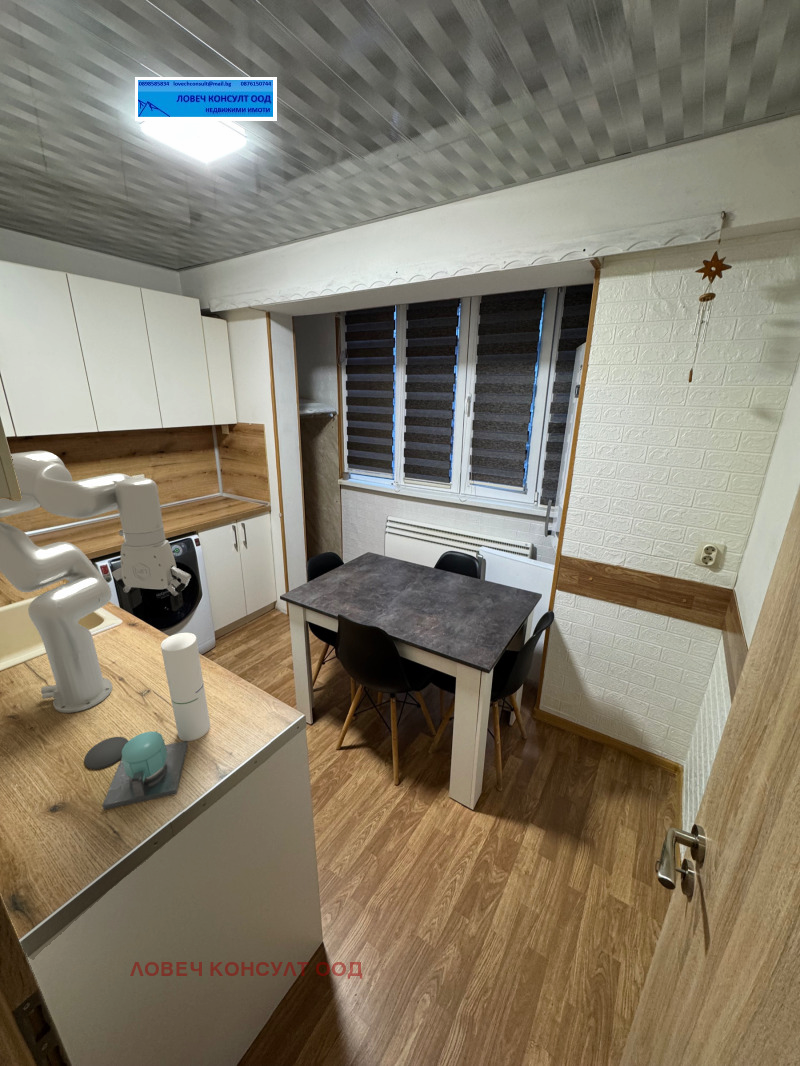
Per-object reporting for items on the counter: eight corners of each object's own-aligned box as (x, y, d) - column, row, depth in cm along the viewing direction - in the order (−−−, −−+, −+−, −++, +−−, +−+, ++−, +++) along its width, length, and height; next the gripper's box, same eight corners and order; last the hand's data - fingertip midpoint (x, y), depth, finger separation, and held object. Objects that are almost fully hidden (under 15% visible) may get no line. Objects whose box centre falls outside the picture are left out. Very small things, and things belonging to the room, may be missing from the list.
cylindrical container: (216, 722, 104) (203, 636, 96) (194, 744, 97) (178, 653, 89) (193, 715, 106) (179, 630, 98) (171, 736, 100) (152, 646, 91)
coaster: (78, 773, 90) (77, 771, 89) (93, 742, 97) (93, 740, 97) (122, 764, 92) (122, 762, 92) (134, 735, 100) (133, 733, 99)
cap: (160, 779, 85) (156, 760, 84) (119, 787, 83) (114, 768, 82) (171, 742, 94) (167, 724, 92) (134, 749, 92) (129, 731, 90)
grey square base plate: (176, 794, 86) (170, 768, 83) (103, 809, 82) (95, 783, 80) (188, 744, 97) (183, 720, 95) (124, 756, 94) (118, 732, 92)
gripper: (92, 540, 86) (108, 612, 92) (174, 544, 85) (185, 617, 91) (118, 528, 93) (131, 596, 99) (193, 532, 92) (202, 601, 98)
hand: (157, 606), depth 95 cm, fingers open, 9 cm apart
